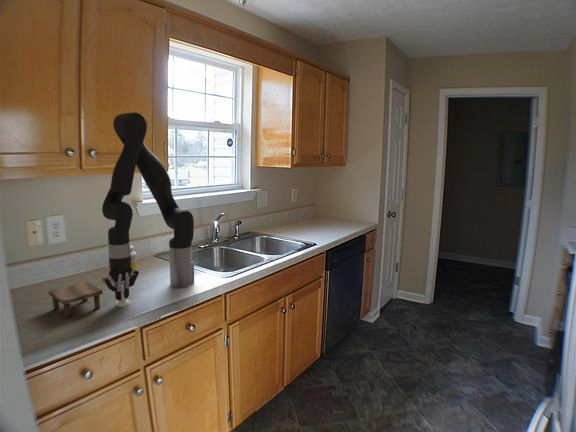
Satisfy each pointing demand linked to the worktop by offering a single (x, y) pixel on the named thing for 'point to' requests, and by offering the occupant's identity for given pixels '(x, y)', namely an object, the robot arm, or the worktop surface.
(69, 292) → the small wooden table
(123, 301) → the chess piece
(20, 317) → the worktop surface
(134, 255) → the supplement bottle
